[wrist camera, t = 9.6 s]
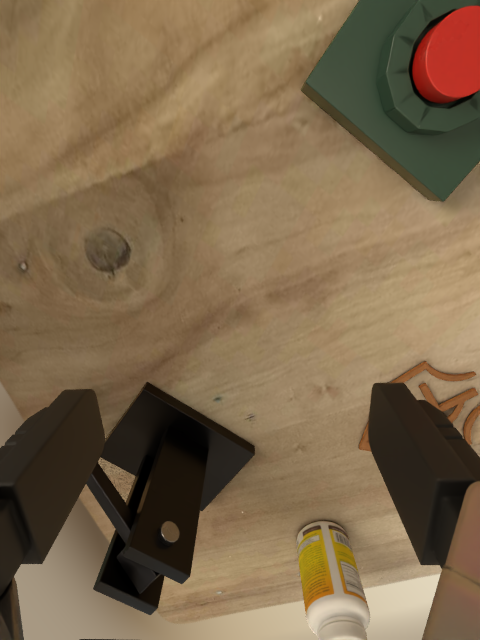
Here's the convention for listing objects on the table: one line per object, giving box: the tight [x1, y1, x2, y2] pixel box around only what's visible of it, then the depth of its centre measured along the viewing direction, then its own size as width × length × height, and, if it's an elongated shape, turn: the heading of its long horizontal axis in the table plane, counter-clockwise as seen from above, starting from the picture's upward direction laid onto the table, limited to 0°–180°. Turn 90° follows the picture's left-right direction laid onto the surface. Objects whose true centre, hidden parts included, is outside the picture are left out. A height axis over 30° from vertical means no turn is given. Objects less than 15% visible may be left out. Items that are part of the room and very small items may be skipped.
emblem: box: [359, 361, 480, 451], centre depth 33 cm, size 12×10×1 cm
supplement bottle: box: [296, 521, 370, 640], centre depth 34 cm, size 6×6×10 cm
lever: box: [86, 462, 161, 594], centre depth 27 cm, size 13×3×3 cm
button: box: [412, 6, 480, 104], centre depth 20 cm, size 4×4×2 cm
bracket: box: [93, 382, 255, 615], centre depth 29 cm, size 12×9×13 cm
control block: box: [301, 0, 480, 202], centre depth 22 cm, size 12×10×4 cm
